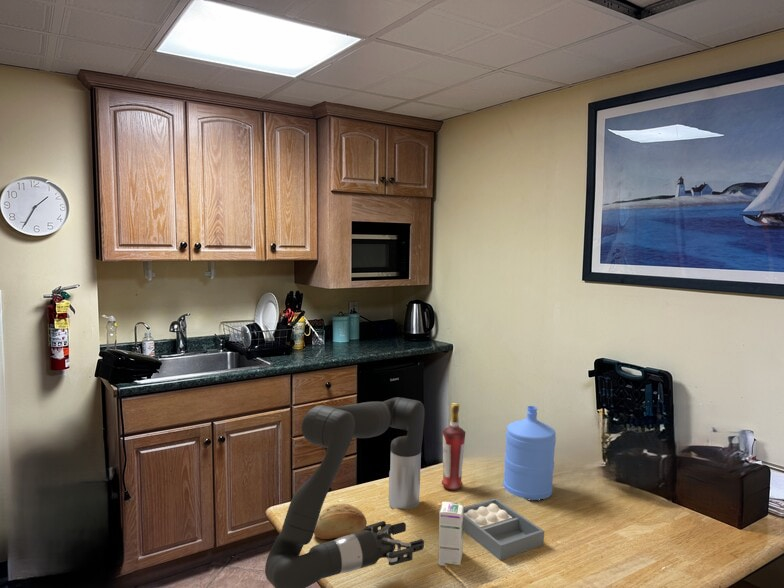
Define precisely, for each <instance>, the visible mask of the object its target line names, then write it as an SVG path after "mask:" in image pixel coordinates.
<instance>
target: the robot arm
mask: <svg viewBox="0 0 784 588" xmlns="http://www.w3.org/2000/svg"><path fill="white" fill-rule="evenodd" d="M424 424H425V407H424V404H423V403H422V401H420V400H417V399H410V398H405V397H397V396H396V397H392V398H389V399H387V400H384V401H366V402H360V403H354V404H346V405H342V406H334V405H333V406H332V405H322V404H321V405H316V406H314V407H312V408H310V409H309V410H308V411H307V413H306V414H305V415H304V417H303V418H302V421H301V426H300V427H301V433H302V436H303V437H304V439H305V441H307V442H308V443H310V444H311V445H312V444H313V445H315V446H318V447H322V448H325V449H326V452H325V455H324V457H323V459H322V461H321V463H320V465H319V466H318V468H317V469H316V470H315V472H313V474H312V475H310V477H309V478H308V479H307V480H306V481H305V482H304V483H303V484H302V485H301V486H300V487H299V488H298V489H297V491H296V492H295V493H294V495H293V496H292V498H291V500H290V503H289V506H288V509H287V512H286V515H285V518H284V521H283V524H282V528H281V530H280V532H279V533H278V536H277V537H276V539H275V541H274V543H273V545H272V547H271V549H270V550H269V553H268V555H267V558H266V562H265V565H264V566H265V567H264V573H265V577H266V580H267V581H268V582H269V583H270V584H271V585H272V586H273V588H307V587H309V586H310V587H311V586H312V585H313V584H316V583H317V582H319V581H320V580H323V579H326V578H328V577H329V578H330V577H332V576H337V575H340V574H344V573H346V574H347V573H350V572H353V571H357V570H360V569H363V568H367V567H371V566H374V565H376V564H377V562H378V561H379V560H380V559H383V558H385V559H387V560H388V565H389V566H395V565H398V564H402V563H407V562H410V561H413V556H414V555H413V554H414V553H415V552H419V551H422V550H424V548H425V541H424V540H423V539H422V538H421V539H416V540H414V541H410V542H403V541H402V540H399V539H395V538H394V537H392V536H394V535H398V534H401V533H405V532H406V531H407V524H406V522H398V523H394V524H390V523H386V521H385V520H383V521H378V522H376V523H372V524H369V525H366V526H365V527H364V530H363V531H362V532H358V533H355V534H351V535H347V536H343V537H337V538H335V539H334V540H331V541H327V542H326V541H325V542H321V543H319V544H316V545H314V546H312V547H311V548H310V549H309V551H308V552H306V553H303V554H302V555H300V554H301V551H302V550H303V547H304V546H306V545H308V544H310V542H311V540H312V538H313V536H314V530H315V527H316V524H317V521H318V518H319V515H320V514H321V512H322V511H321V510H322V508H323V505H324V502H325V499H326V497H327V495H328V493H329V490H330V489H331V486H332V484H333V482H334V480H335V477H336V476H337V473H339V472H338V471H339V469H340V467H341V465H342V463H343V461H344V459H345V456H346V454H347V452H348V450H349V447H350V445H351V442H352V439H353V438H356V439H357V438H358V439H370V438H373V437H378V436H381V435H382V434H384V433H385V432H386V431H387V430H388V429H389V427H390V428H394V429H400V430H404V431H407V433H406V435H403V436H398V437H396V438H394V439H392V440H391V443H390V465H389V466H390V468H389V469H390V470H389V472H388V475H389V476H388V502H389V503H388V505H389V507H390V508H391V509H393V510H395V509H400V510H411V509H414V508H417V507H418V506H419V505H420V494H421V493H420V492H421V489H420V488H421V463H422V461H421V459H422V458H421V457H422V446H423V445H422V444H423V438H424V437H423V436H424ZM391 535H392V536H391ZM396 547H397V550H396ZM402 548H403V549H402Z"/></svg>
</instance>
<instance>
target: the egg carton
mask: <svg viewBox="0 0 784 588" xmlns="http://www.w3.org/2000/svg"><path fill="white" fill-rule="evenodd" d="M463 514H464V515H465V516H467V517H468V518H469V519H470V520H472V521H473V522H474V523H476V524H477V525H478V526H480V527H481V528H484V527H488V526H491V525H494V524H497V523H501V522H504V521H507V520H510V519H512V517H511V516H510V515H508V514H507V512H506V511H505V510H501V509H500V508H498V506H497V505H496V504H494V503H492V504H490V505H489V506H488V507H484V506H481V507H479V508H478V509H477V510H473V509H471V510H469V511H468V512H467V513H463Z"/></svg>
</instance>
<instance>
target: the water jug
mask: <svg viewBox="0 0 784 588" xmlns="http://www.w3.org/2000/svg"><path fill="white" fill-rule="evenodd" d="M526 409H527V411H526V418H523V419H520V420H515V421H512V422H509V424H508V425H507V427H506V431H505V454H504V473H503V474H504V475H503V476H504V477H503V484H502V485H503V488H504V489H505V490H506V491H507V492H508V493H509V494H511V495H513V496H515V497H518V498H522V499H524V500H526V499H530V500H538V501H540V500H539V499H544V500H546V499H548V498H550V497H551V496H552V494H553V490H554V486H553V479H554V476H553V475H554V468H555V450H556V449H555V448H556V441H557V440H556V439H557V437H556V435H557V434H556V430H555V428H553V427H552V426H550V425H549V424H546V423H545V422H542V421H540V420H538V419H537V418H538V417H537V415H538V412H537V411H538V407H537V406H534V405H529V406H527V407H526ZM547 497H548V498H547ZM545 498H546V499H545ZM530 500H529V501H530Z"/></svg>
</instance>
